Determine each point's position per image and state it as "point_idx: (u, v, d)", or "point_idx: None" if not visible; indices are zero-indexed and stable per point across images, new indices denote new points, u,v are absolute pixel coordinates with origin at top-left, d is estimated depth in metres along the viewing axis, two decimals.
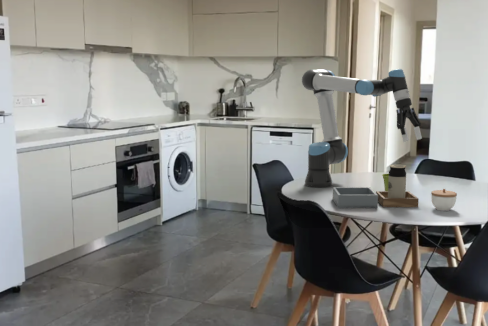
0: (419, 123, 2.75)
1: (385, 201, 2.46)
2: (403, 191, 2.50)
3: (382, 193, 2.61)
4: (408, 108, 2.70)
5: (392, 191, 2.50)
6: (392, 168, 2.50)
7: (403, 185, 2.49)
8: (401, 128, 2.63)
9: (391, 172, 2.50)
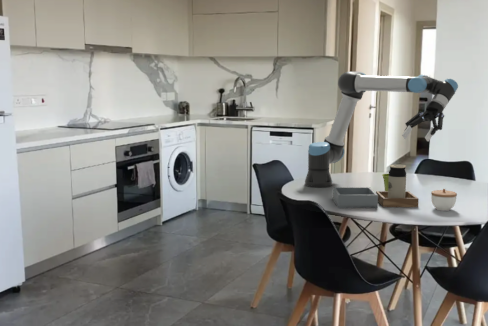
0: None
1: (385, 201, 2.46)
2: (403, 191, 2.50)
3: (382, 193, 2.61)
4: None
5: (392, 191, 2.50)
6: (392, 168, 2.50)
7: (403, 185, 2.49)
8: (436, 129, 2.50)
9: (391, 172, 2.50)
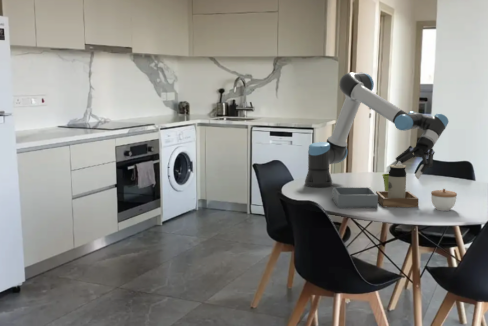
0: None
1: (385, 201, 2.46)
2: (403, 191, 2.50)
3: (382, 193, 2.61)
4: None
5: (392, 191, 2.50)
6: (392, 168, 2.50)
7: (403, 185, 2.49)
8: (426, 166, 2.48)
9: (391, 172, 2.50)
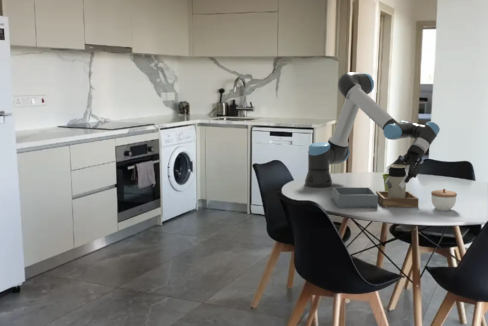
0: None
1: (385, 201, 2.46)
2: (403, 191, 2.50)
3: (382, 193, 2.61)
4: None
5: (392, 191, 2.50)
6: (392, 168, 2.50)
7: None
8: (410, 177, 2.48)
9: (391, 172, 2.50)
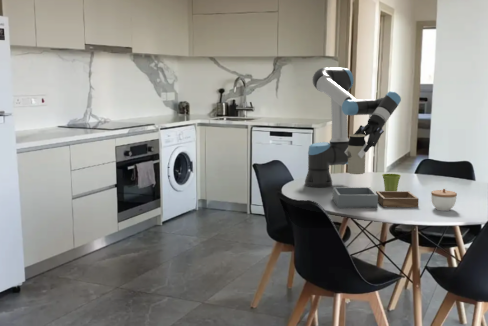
0: None
1: (385, 201, 2.46)
2: (362, 160, 2.47)
3: (382, 193, 2.61)
4: None
5: (351, 161, 2.48)
6: (351, 137, 2.47)
7: None
8: (369, 146, 2.46)
9: (350, 141, 2.47)
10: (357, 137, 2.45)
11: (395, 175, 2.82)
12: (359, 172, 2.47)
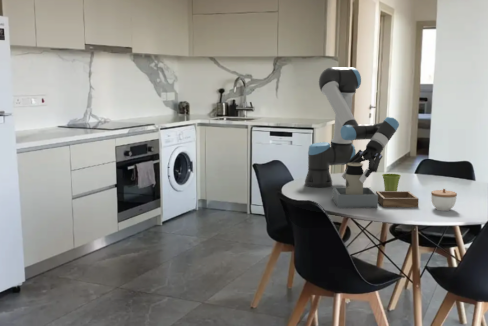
0: None
1: (385, 201, 2.46)
2: (360, 189, 2.49)
3: (382, 193, 2.61)
4: None
5: (349, 190, 2.50)
6: (349, 166, 2.49)
7: (360, 183, 2.49)
8: (370, 171, 2.46)
9: (348, 170, 2.50)
10: (355, 166, 2.48)
11: (395, 175, 2.82)
12: None
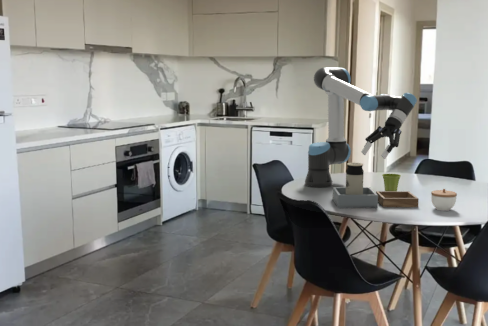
0: None
1: (385, 201, 2.46)
2: (360, 189, 2.49)
3: (382, 193, 2.61)
4: None
5: (349, 190, 2.50)
6: (349, 166, 2.49)
7: (360, 183, 2.49)
8: (392, 146, 2.52)
9: (348, 170, 2.50)
10: (355, 166, 2.48)
11: (395, 175, 2.82)
12: None
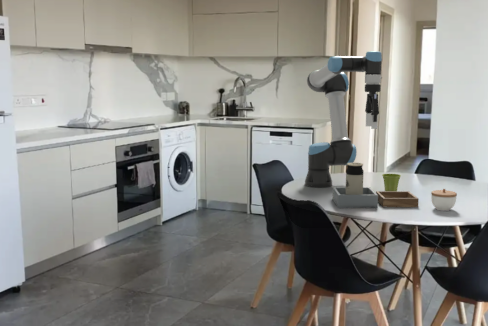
0: None
1: (385, 201, 2.46)
2: (360, 189, 2.49)
3: (382, 193, 2.61)
4: None
5: (349, 190, 2.50)
6: (349, 166, 2.49)
7: (360, 183, 2.49)
8: (375, 115, 2.53)
9: (348, 170, 2.50)
10: (355, 166, 2.48)
11: (395, 175, 2.82)
12: None
